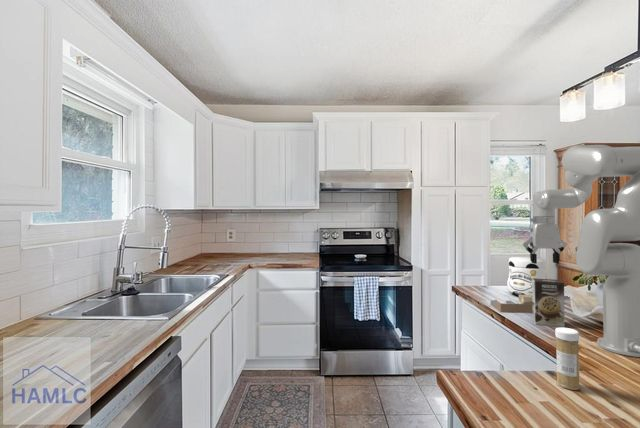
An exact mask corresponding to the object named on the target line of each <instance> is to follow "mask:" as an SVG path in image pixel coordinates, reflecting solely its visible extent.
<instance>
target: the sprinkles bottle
mask: <svg viewBox="0 0 640 428" xmlns="http://www.w3.org/2000/svg"><path fill="white" fill-rule="evenodd" d="M554 333H555V338H556V343H555V344H556V378H557V380H556V384H557V385H558V386H559V387H562V388H564V389H566V390H569V391H570V390H571V391H578V390H580V389H581V385H580V356H579V355H580V354H579V353H580V352H579V340H580V333H579V331H578V330H576V329H574V328H568V327H565V326H564V327H556V328H555V332H554Z"/></svg>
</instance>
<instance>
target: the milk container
mask: <svg viewBox="0 0 640 428" xmlns="http://www.w3.org/2000/svg"><path fill="white" fill-rule="evenodd" d="M532 278H537V279H547V261H546V259H545V258H541V257H537V263H536V264H534V263H532V262H531V260H530V256H511V257H509V258H508V279H507V282H506V285H507V290H508V292H509V293H510V294H512V295H515V296H517V297H519V295H530V296H532Z"/></svg>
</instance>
